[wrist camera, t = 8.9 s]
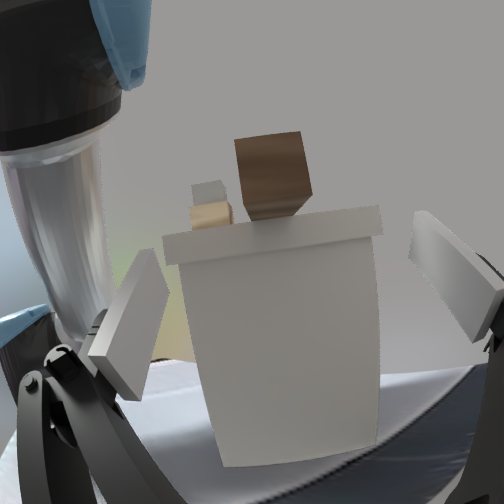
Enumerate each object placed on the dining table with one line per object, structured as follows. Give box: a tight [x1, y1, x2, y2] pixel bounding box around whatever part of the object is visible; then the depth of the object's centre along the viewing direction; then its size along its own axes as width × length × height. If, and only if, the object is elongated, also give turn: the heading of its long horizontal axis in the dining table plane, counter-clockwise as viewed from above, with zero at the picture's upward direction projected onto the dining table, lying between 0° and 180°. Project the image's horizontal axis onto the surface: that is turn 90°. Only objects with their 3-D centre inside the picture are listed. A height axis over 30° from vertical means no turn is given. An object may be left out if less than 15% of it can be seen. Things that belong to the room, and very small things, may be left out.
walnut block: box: [234, 131, 313, 221], centre depth 30 cm, size 28×4×4 cm, turn 177°
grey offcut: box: [192, 180, 227, 206], centre depth 39 cm, size 5×4×3 cm
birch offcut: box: [189, 201, 234, 231], centre depth 39 cm, size 6×5×4 cm
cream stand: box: [162, 205, 383, 467], centre depth 36 cm, size 18×22×30 cm
